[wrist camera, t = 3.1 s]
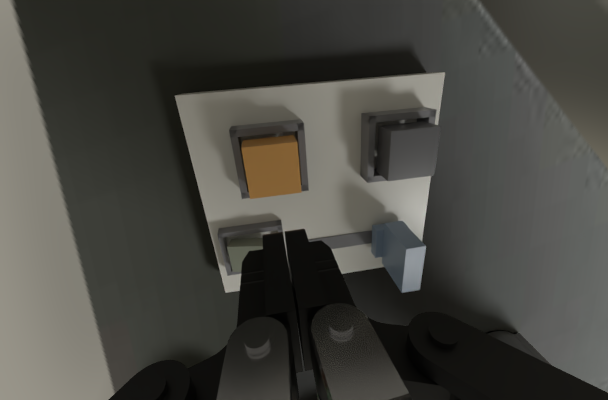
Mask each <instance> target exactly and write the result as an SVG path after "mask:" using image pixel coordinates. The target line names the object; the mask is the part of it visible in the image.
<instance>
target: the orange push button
mask: <svg viewBox="0 0 608 400" xmlns="http://www.w3.org/2000/svg"><path fill="white" fill-rule="evenodd" d="M241 149H242V155H243V161H244V167H245V172H246V178H247V184H248V190H249V195H250V199H255V198H262V197H270V196H278V195H286V194H294V193H301V192H302V191H301V179H300V167H299V155H298V143H297V140H296V139H295V137H294V135H288V136H279V137H269V138H260V139H250V140H243V142H242V147H241Z"/></svg>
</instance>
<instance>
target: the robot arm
mask: <svg viewBox="0 0 608 400" xmlns="http://www.w3.org/2000/svg"><path fill="white" fill-rule="evenodd" d="M262 238H263V249H260V250H254V251H249V252H248V253H247V255H246V256H245V258H244V259H243V261H242V268H241V281H240V283H241V285H240V295H239V308H238V321H237V328H236V329H235V330H234V331H233V333H232V334H231V336H230V338H229V340H228V343H227V345H226V346H225V347H224V348H223V349H222V350H221V351H220V352H218V353H217V354H216V355H214V356H212V357H210V358H209V359H206V360H204V361H202V362H200V363H198V364H196V365H194V366H192V367H190V368H188V369H187V368H186V367H185V366H184V365H183V364H182V363H180V362H178V361H174V360H165V361H160V362H156V363H154V364H152V365H149V366H148V367H146V368H144V369H143V370H141V371H140V372H138V373H137V374H136V375H135V376H133V377H132V378H131V379H130V380H129V381H128V382H127V383H126V384H125V385H124V386H123V387H122V388H121V389H120V390H118V391H117V392H116V393H115V394H114V395H113V396H112V397H111V398H110V399H109V400H298V399H299V392H298V385H297V377H296V373H298V372H303V368H302V360H301V351H300V342H301V348H302V354H303V360H304V366H305V371H307V370H312V369H313V372H314V377H315V382H316V389H317V399H318V400H608V393H607V392H605V391H603V390H601V389H599V388H597V387H595V386H593V385H591V384H589V383H587V382H584V381H582V380H580V379H578V378H576V377H574V376H572V375H570V374H568V373H566V372H564V371H562V370H560V369H558V368H556V367H554V366H552V365H551V364H550V363H549V362H548V361H547V360H546V359H545V358H544V357H543V356H542V355H541V354H540V353H539V352H538V351H537V350H536V349H535V348H534V347H533V346H532V345H531V344H530V343H529V342H528V341H527V340H526V339H525V338H524V337H523V336H522V335H521V334H520V333H517V334H512V333H510V332H507V331H495V332H491V333H488V334H486V333H484V332H482V331H480V330H478V329H476V328H474V327H472V326H469V325H467V324H465V323H463V322H461V321H459V320H457V319H455V318H453V317H451V316H448V315H446V314H442V313H437V312H425V313H421V314H419V315H417V316H416V317H414V318H413V319H412V320H411V322H410V324H409V326H401V325H392V324H384V323H380V322H376V321H374V320H372V319H370V318H368V317H367V316H366V315H365V314H364V313H363V312H362V311H361V310H360V309H358V308H357V307H356V306H355V304H354V302H353V300H352V297H351V295H350V292H349V290H348V288H347V285H346V283H345V281H344V278H343V276H342V273H341V271H340V269H339V266H338V264H337V262H336V260H335V257H334V255H333V252H332V250H331V248H330V247H329V246H328V245H327V244H325V243H324V242H323V241H322V240H320V241H313V242H309V241H308V237H307V234H306V231H305V229H298V230H291V231H285V241H286V248H285V242H284V236H283V232H278V233H271V234H264V235H262ZM286 249H287V254H286ZM287 257H288V260H287ZM297 323H298V325H297ZM298 329H299V334H298ZM299 336H300V342H299Z"/></svg>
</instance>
